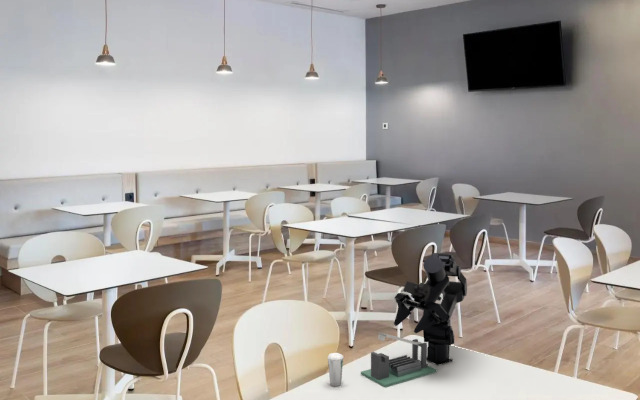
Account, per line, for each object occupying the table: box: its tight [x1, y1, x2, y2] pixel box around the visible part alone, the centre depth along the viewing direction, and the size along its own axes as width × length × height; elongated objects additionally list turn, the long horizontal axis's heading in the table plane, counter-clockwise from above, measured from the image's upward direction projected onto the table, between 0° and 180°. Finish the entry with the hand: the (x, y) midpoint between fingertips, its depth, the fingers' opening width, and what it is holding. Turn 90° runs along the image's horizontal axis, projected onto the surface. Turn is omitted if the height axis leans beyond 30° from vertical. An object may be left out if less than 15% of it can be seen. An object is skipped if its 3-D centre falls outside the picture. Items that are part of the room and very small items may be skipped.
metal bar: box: [377, 331, 423, 348], centre depth 184 cm, size 17×2×2 cm, turn 124°
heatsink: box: [389, 354, 421, 377], centre depth 185 cm, size 9×7×3 cm
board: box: [360, 357, 438, 388], centre depth 185 cm, size 20×12×1 cm, turn 123°
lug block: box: [370, 351, 390, 380], centre depth 180 cm, size 4×4×7 cm
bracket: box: [411, 338, 429, 369], centre depth 189 cm, size 2×5×8 cm, turn 33°
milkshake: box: [327, 352, 344, 387], centre depth 177 cm, size 4×5×10 cm
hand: (404, 328), depth 184 cm, fingers open, 9 cm apart
